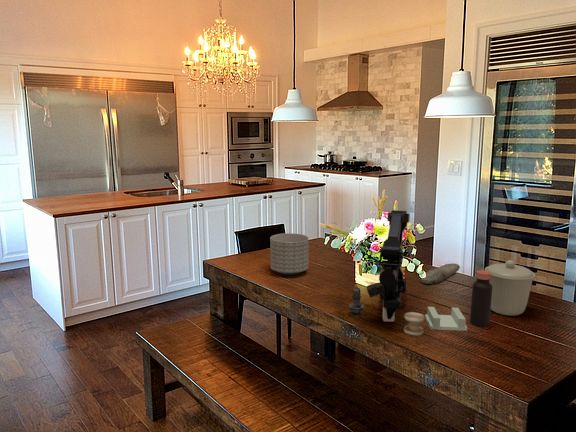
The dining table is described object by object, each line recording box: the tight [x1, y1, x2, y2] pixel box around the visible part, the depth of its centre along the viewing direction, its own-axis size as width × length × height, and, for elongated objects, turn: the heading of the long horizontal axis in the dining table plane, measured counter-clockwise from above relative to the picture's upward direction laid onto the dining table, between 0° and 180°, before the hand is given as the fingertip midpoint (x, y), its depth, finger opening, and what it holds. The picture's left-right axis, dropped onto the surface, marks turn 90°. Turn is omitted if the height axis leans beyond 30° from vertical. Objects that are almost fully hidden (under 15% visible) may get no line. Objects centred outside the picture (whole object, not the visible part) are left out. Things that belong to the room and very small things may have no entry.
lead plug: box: [382, 306, 396, 323], centre depth 181 cm, size 4×4×6 cm
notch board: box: [424, 306, 468, 332], centre depth 178 cm, size 11×13×4 cm
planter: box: [269, 232, 309, 276], centre depth 237 cm, size 19×19×18 cm
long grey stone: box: [420, 263, 461, 285], centre depth 234 cm, size 35×5×10 cm
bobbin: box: [403, 311, 425, 337], centre depth 171 cm, size 7×7×6 cm
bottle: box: [469, 269, 492, 327], centre depth 177 cm, size 7×7×20 cm
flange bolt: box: [348, 285, 365, 318], centre depth 186 cm, size 6×6×12 cm
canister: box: [484, 259, 536, 317], centre depth 189 cm, size 18×18×21 cm
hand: (388, 316), depth 181 cm, fingers closed on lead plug, 4 cm apart
